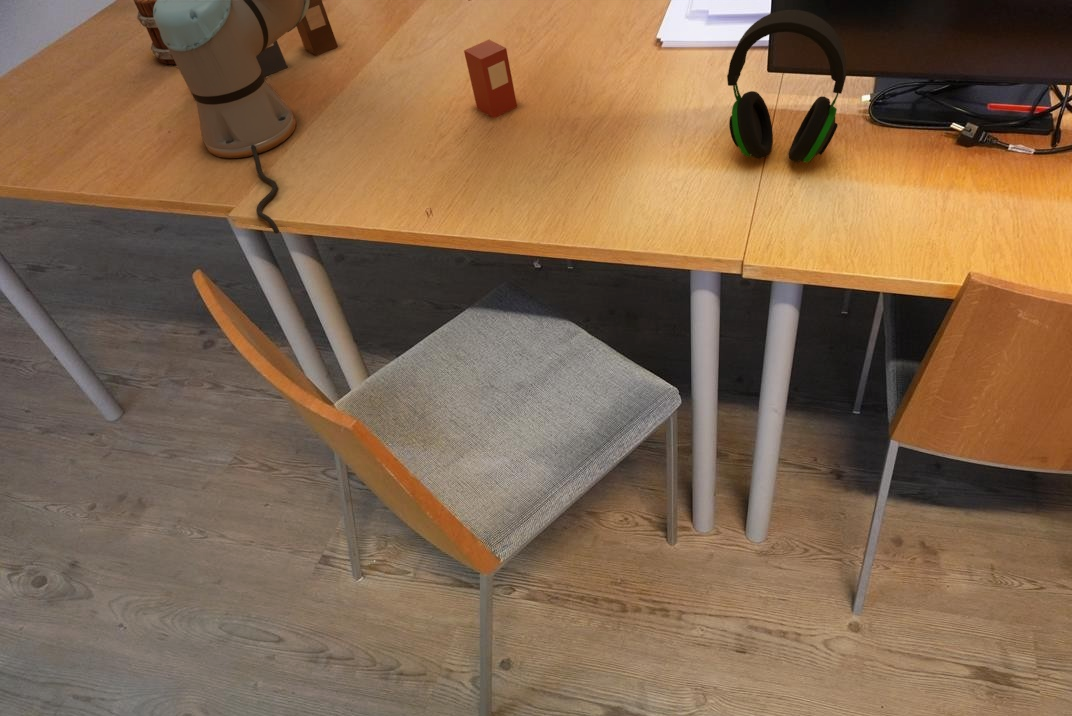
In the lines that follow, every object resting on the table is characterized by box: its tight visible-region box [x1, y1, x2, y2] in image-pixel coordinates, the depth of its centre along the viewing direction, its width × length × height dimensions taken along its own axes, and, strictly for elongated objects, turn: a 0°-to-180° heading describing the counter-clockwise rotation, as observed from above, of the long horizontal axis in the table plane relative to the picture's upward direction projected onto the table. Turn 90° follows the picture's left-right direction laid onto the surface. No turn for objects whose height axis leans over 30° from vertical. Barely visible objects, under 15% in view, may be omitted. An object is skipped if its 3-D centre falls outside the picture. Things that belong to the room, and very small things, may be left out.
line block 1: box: [256, 40, 288, 78], centre depth 146 cm, size 5×5×10 cm
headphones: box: [726, 9, 848, 163], centre depth 106 cm, size 9×16×20 cm, turn 71°
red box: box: [463, 39, 518, 119], centre depth 127 cm, size 5×5×10 cm
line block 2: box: [296, 0, 339, 57], centre depth 150 cm, size 5×5×10 cm
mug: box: [133, 0, 176, 65], centre depth 155 cm, size 12×14×15 cm
